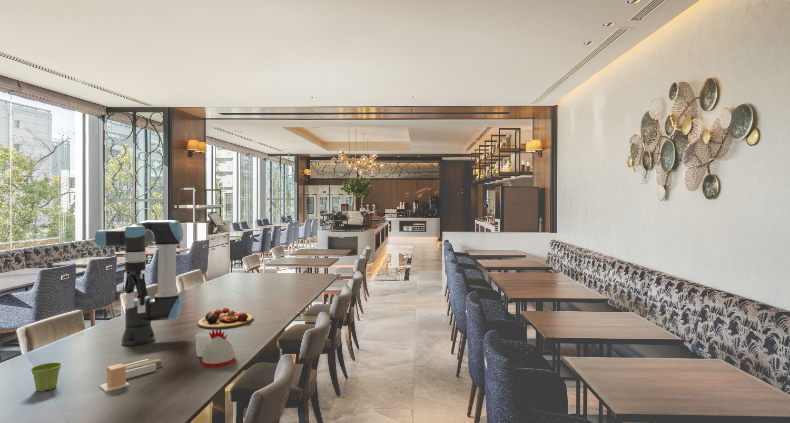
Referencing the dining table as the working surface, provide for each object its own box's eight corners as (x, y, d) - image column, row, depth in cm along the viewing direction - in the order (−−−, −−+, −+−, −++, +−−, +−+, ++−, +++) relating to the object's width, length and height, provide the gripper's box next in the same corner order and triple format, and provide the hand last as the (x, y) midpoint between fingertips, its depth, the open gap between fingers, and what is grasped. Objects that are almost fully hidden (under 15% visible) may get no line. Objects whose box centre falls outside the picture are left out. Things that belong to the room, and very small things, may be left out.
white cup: (206, 358, 198) (206, 337, 198) (191, 357, 200) (191, 336, 200) (216, 352, 206) (216, 332, 206) (202, 351, 207) (202, 331, 207)
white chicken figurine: (211, 356, 201) (210, 325, 201) (239, 356, 200) (239, 325, 200) (196, 367, 187) (196, 333, 187) (226, 367, 186) (226, 334, 186)
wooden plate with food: (263, 320, 265) (263, 307, 265) (218, 333, 239) (218, 319, 239) (232, 313, 283) (232, 301, 283) (187, 324, 256) (186, 311, 256)
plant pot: (42, 383, 169) (42, 362, 169) (67, 383, 170) (67, 361, 170) (24, 394, 160) (24, 371, 160) (50, 393, 161) (50, 370, 161)
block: (107, 384, 167) (106, 366, 167) (121, 380, 171) (121, 363, 171) (111, 387, 164) (111, 369, 164) (125, 383, 168) (125, 366, 168)
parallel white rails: (117, 373, 180) (117, 366, 180) (148, 365, 189) (148, 358, 189) (124, 379, 174) (124, 371, 174) (156, 370, 183) (155, 363, 183)
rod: (123, 374, 180) (123, 367, 180) (159, 365, 190) (159, 358, 190) (125, 376, 178) (125, 369, 178) (161, 367, 188) (161, 360, 188)
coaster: (99, 386, 167) (99, 385, 167) (122, 380, 173) (122, 378, 173) (105, 392, 161) (105, 390, 161) (129, 385, 167) (129, 384, 167)
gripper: (115, 259, 187) (116, 307, 187) (136, 264, 170) (136, 316, 171) (134, 258, 192) (135, 304, 193) (156, 262, 176) (156, 313, 176)
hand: (135, 310), depth 182 cm, fingers open, 13 cm apart
